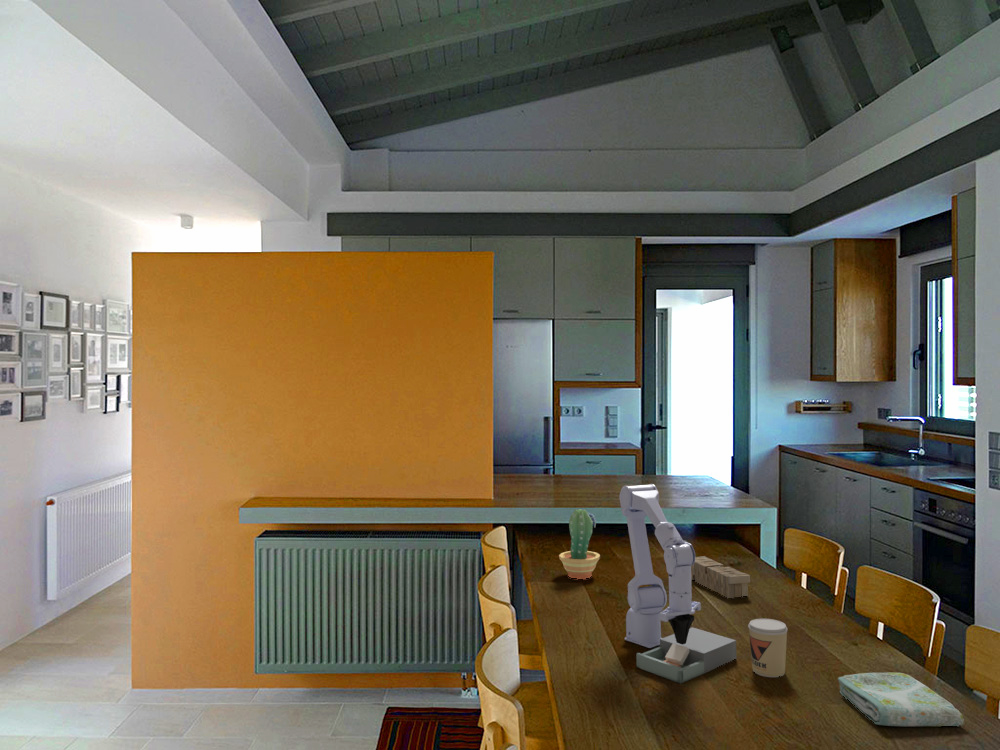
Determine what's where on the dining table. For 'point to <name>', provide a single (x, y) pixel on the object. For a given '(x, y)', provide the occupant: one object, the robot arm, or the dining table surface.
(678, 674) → the grey-green drawer
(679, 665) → the terracotta tile
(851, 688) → the towel
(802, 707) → the dining table surface
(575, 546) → the potted cactus
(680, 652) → the cream tile
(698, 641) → the grey drawer housing
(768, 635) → the coffee cup
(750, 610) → the dining table surface
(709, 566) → the block tower
